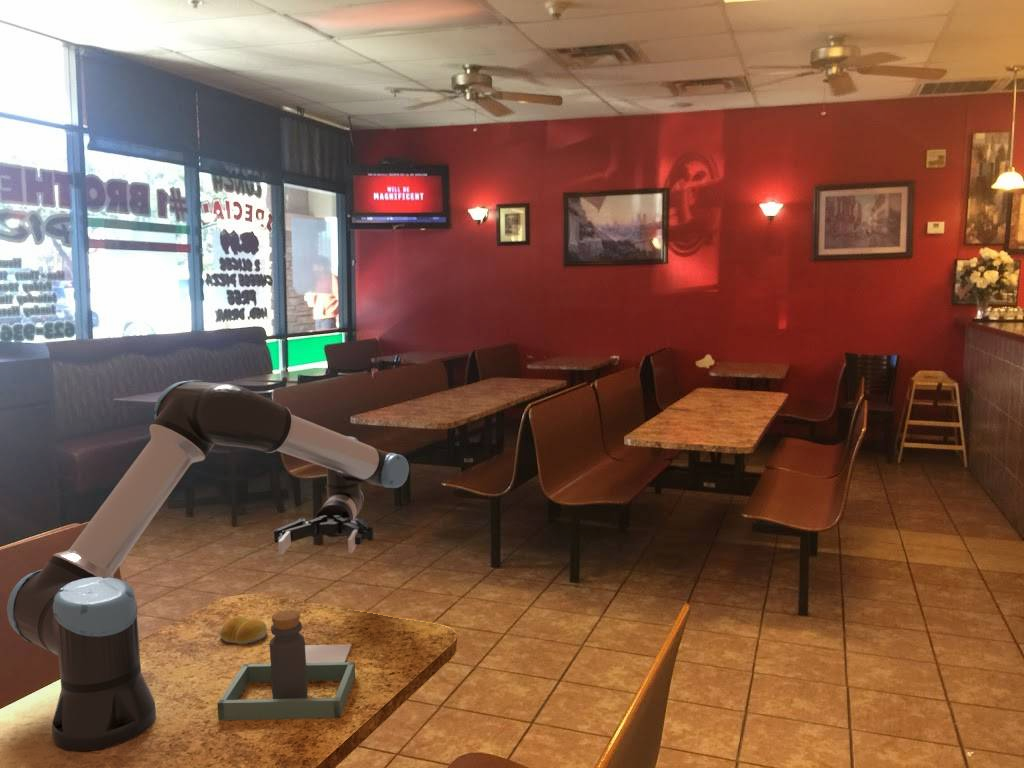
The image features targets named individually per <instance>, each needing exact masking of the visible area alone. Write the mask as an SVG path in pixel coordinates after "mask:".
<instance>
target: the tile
mask: <svg viewBox="0 0 1024 768" xmlns="http://www.w3.org/2000/svg"><path fill="white" fill-rule="evenodd" d="M352 647H353V645H352V643H349V644H346V643H345V644H341V643H340V644H305V654H306V663H324V662H347V659H348V658H349V654H350V652H351V650H352ZM268 664H271V661H270V662H269V663H268Z"/></svg>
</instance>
